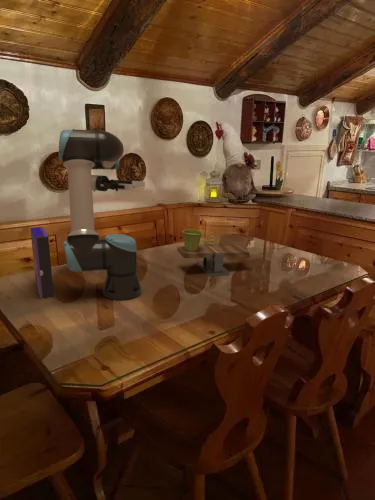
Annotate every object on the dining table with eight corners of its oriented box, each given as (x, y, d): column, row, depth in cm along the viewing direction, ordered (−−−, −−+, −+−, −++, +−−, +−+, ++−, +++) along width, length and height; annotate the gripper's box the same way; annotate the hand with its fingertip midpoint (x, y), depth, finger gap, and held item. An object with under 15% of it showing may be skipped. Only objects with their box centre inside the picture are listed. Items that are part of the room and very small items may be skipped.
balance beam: (238, 249, 180) (238, 245, 180) (249, 256, 169) (249, 252, 169) (177, 250, 171) (177, 246, 170) (184, 258, 160) (184, 253, 159)
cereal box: (35, 283, 150) (30, 227, 143) (48, 281, 152) (42, 226, 146) (40, 299, 136) (34, 237, 129) (53, 297, 138) (48, 236, 131)
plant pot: (200, 247, 171) (202, 229, 169) (202, 253, 162) (203, 234, 160) (181, 246, 171) (182, 228, 168) (181, 252, 162) (182, 233, 159)
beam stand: (229, 274, 165) (230, 254, 163) (208, 276, 163) (209, 255, 160) (215, 262, 182) (216, 243, 179) (196, 264, 179) (197, 244, 176)
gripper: (112, 188, 188) (149, 190, 181) (84, 194, 165) (126, 197, 159) (111, 173, 185) (149, 175, 179) (83, 177, 163) (125, 180, 156)
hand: (138, 185), depth 169 cm, fingers open, 13 cm apart
